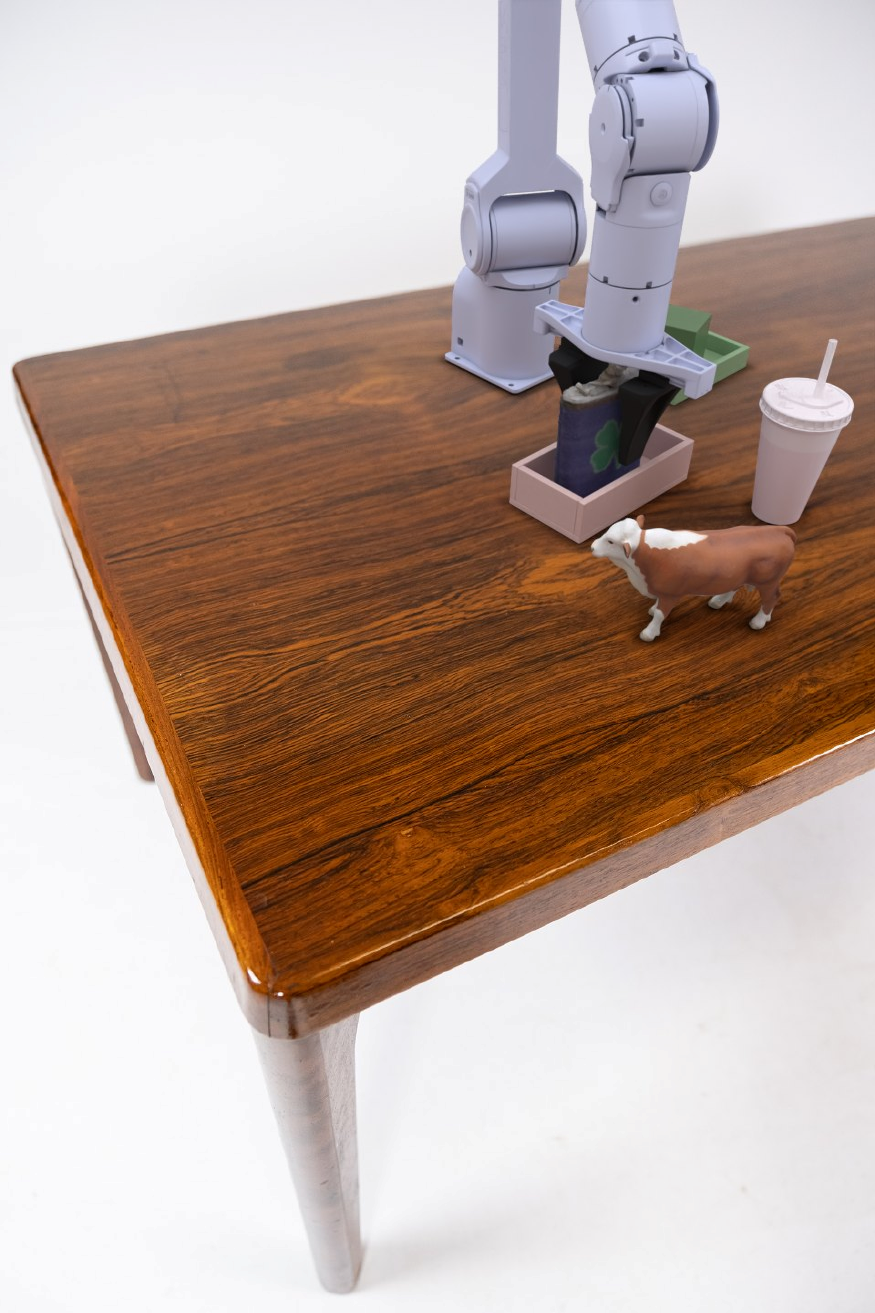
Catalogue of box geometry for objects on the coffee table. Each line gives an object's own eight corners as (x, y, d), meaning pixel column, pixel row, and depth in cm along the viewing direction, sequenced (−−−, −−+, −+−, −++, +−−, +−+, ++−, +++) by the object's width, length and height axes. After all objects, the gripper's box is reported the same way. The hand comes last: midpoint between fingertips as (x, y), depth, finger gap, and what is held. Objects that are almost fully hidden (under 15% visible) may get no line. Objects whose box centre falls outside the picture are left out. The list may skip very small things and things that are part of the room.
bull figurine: (577, 604, 70) (591, 505, 64) (767, 595, 71) (797, 497, 65) (590, 646, 67) (605, 546, 61) (788, 637, 68) (821, 537, 62)
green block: (641, 367, 95) (648, 320, 92) (657, 348, 98) (665, 302, 94) (687, 378, 93) (696, 332, 90) (702, 359, 96) (712, 313, 93)
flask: (622, 458, 83) (641, 334, 75) (649, 473, 81) (672, 348, 74) (542, 499, 78) (554, 371, 71) (569, 516, 77) (585, 387, 69)
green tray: (594, 369, 95) (597, 349, 94) (667, 334, 101) (671, 315, 100) (673, 405, 90) (677, 385, 89) (745, 366, 96) (750, 346, 95)
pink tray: (508, 503, 79) (511, 464, 76) (617, 443, 85) (623, 406, 83) (579, 544, 75) (584, 504, 73) (686, 478, 82) (695, 440, 79)
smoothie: (821, 540, 76) (879, 366, 66) (733, 529, 77) (778, 356, 67) (815, 493, 80) (868, 324, 71) (733, 483, 81) (774, 315, 72)
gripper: (756, 287, 67) (715, 465, 76) (583, 228, 74) (565, 397, 83) (695, 319, 63) (660, 502, 72) (520, 254, 70) (508, 427, 80)
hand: (605, 448), depth 78 cm, fingers open, 4 cm apart
